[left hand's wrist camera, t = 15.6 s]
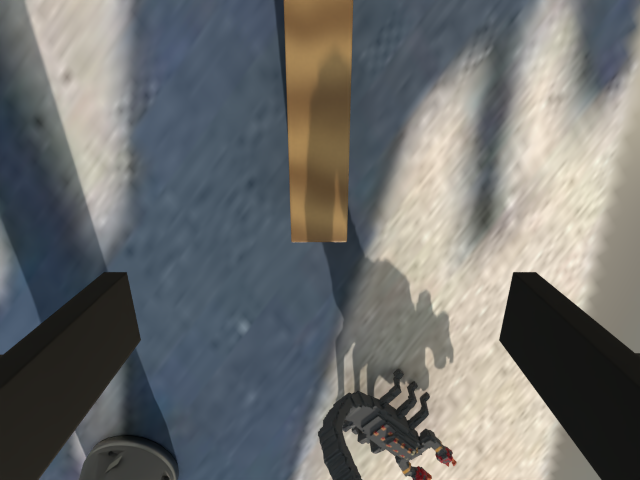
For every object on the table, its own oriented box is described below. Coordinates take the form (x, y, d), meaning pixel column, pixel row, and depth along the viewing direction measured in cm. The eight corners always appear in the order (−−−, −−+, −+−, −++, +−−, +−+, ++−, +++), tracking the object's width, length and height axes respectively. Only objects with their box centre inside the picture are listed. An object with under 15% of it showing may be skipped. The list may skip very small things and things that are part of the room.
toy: (357, 333, 54) (374, 444, 37) (471, 429, 61) (530, 560, 43) (295, 386, 57) (284, 509, 40) (409, 471, 64) (441, 608, 47)
